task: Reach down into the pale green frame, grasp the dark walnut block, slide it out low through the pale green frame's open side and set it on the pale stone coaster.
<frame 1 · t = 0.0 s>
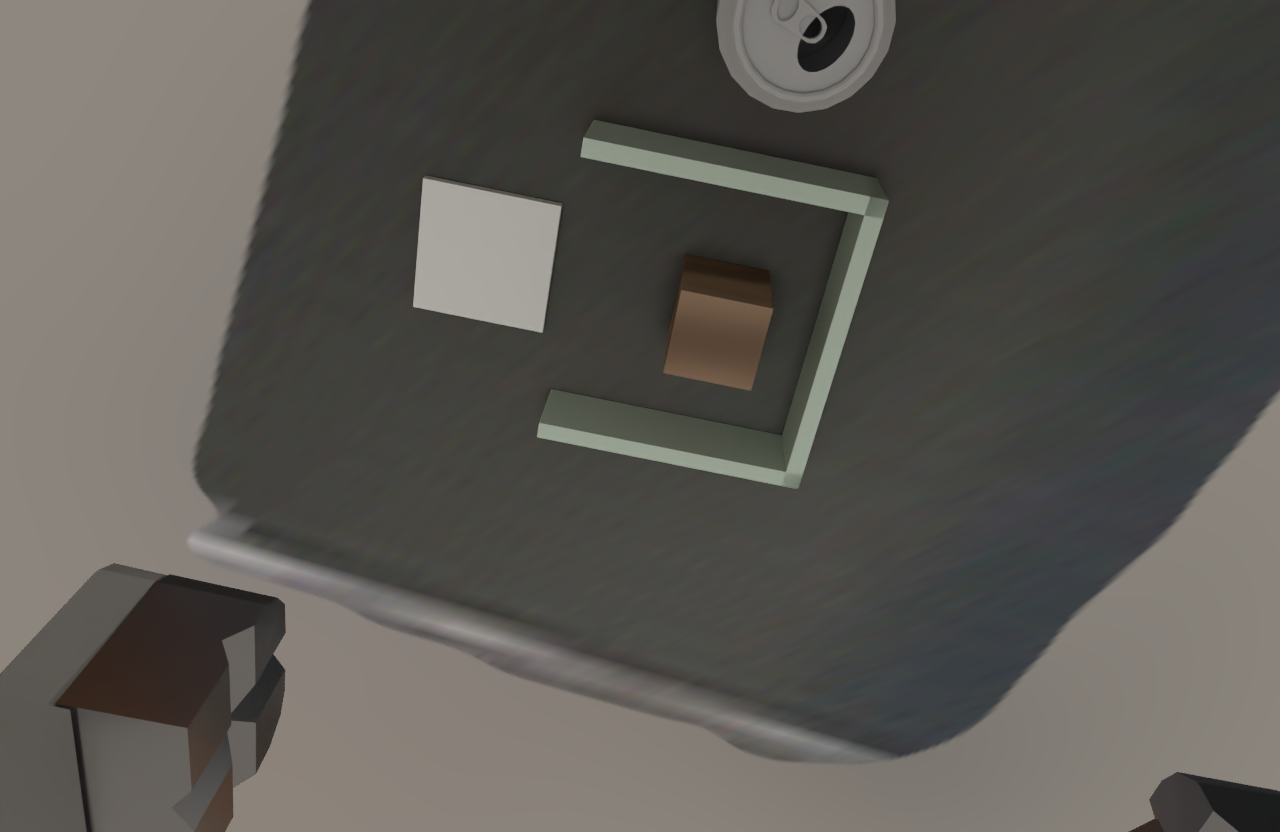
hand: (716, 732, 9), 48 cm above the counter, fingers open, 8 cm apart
block: (717, 301, 58), on the counter
pale green frame: (701, 298, 58), on the counter
coaster: (487, 254, 58), on the counter
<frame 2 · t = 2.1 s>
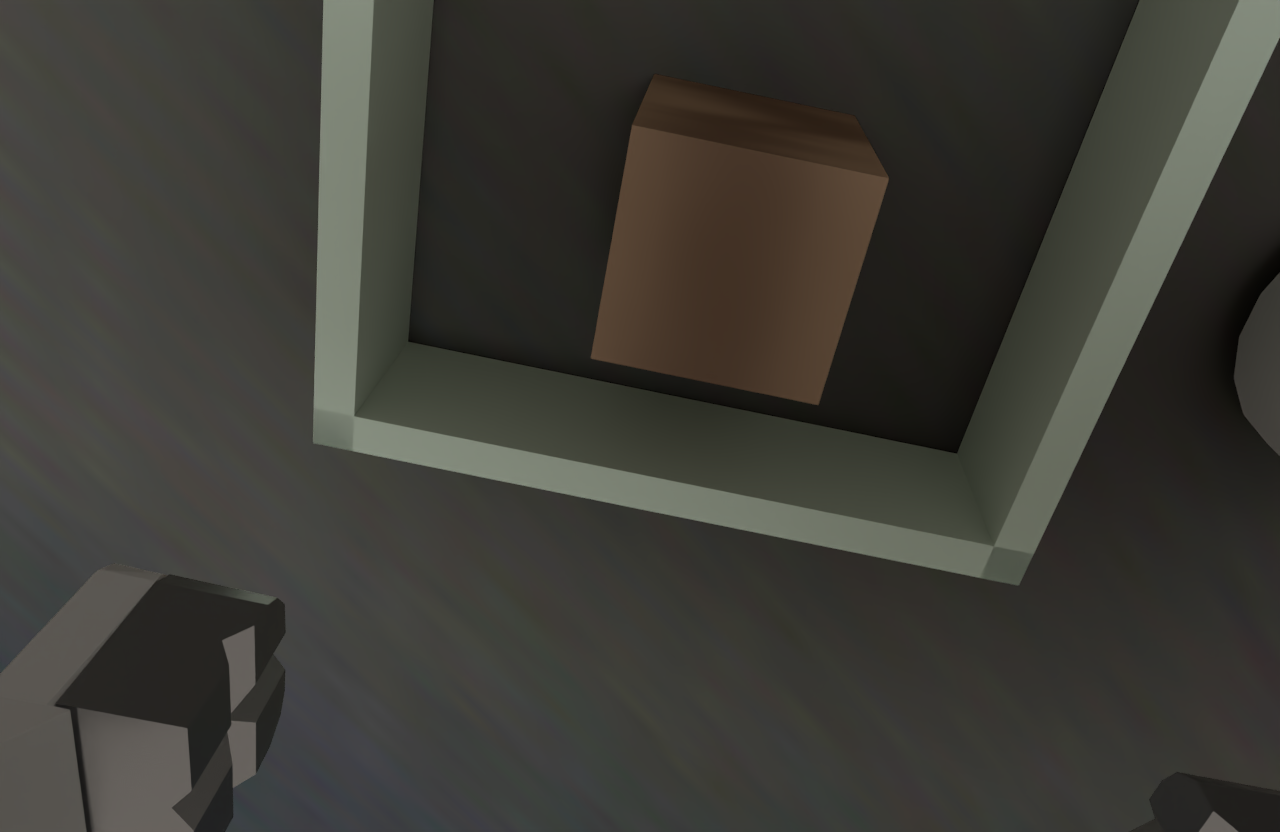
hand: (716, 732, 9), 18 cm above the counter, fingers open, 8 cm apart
block: (731, 193, 25), on the counter
pale green frame: (740, 155, 24), on the counter
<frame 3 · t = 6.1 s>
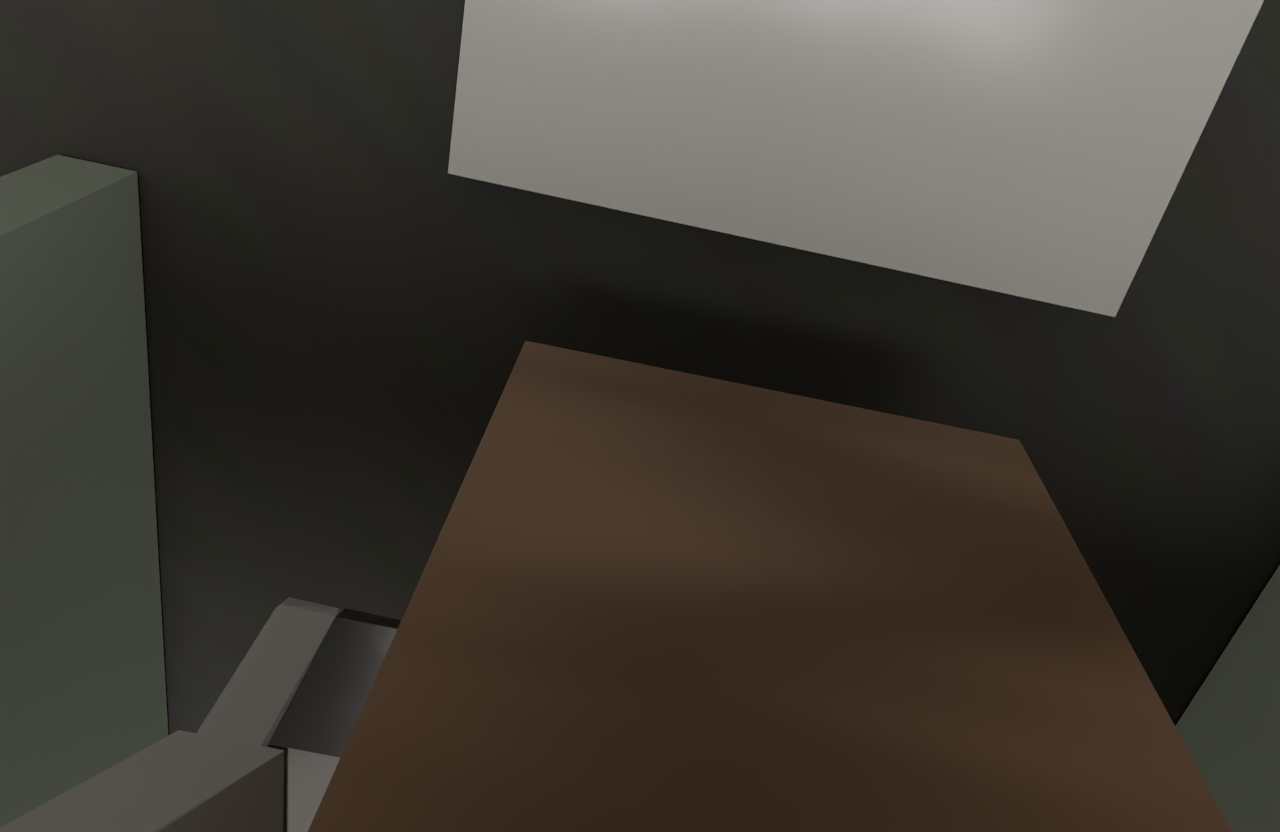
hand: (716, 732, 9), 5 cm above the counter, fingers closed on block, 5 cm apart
block: (718, 586, 11), point 3 cm above the counter, touching gripper
pale green frame: (639, 743, 16), on the counter
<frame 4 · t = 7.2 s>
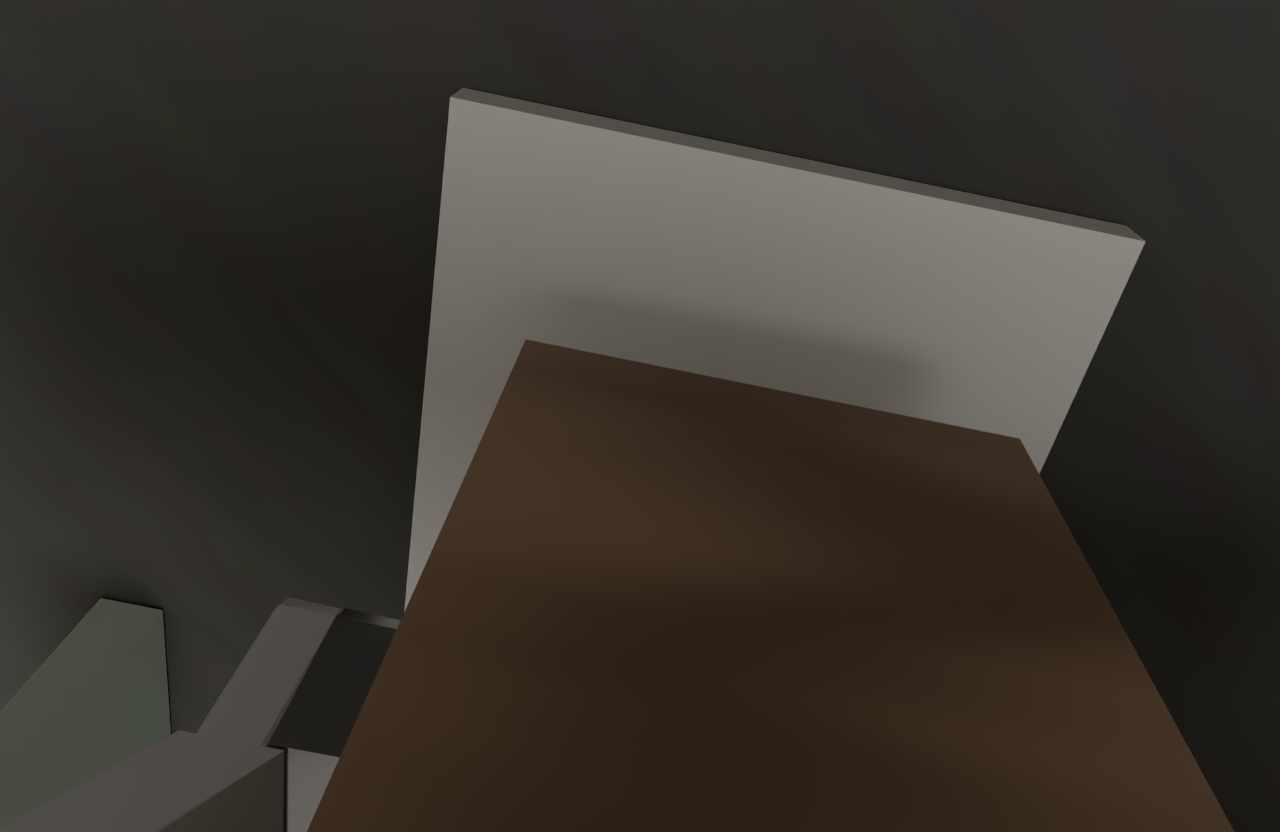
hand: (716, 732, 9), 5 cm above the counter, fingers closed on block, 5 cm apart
block: (718, 585, 11), point 3 cm above the counter, touching gripper
coaster: (721, 444, 13), on the counter
when the fingers open (3 cm above the counter, at t = 8.0 s): block stays where it is, resting on coaster.
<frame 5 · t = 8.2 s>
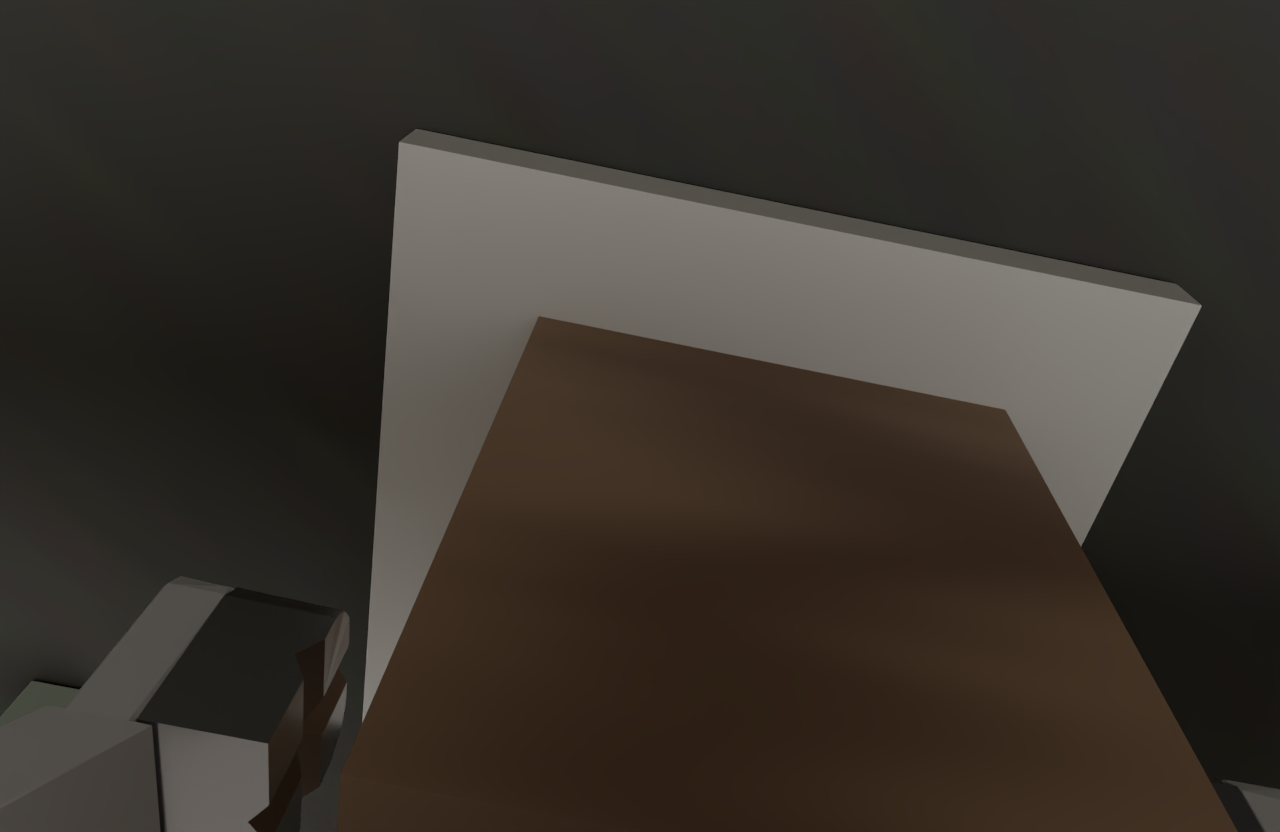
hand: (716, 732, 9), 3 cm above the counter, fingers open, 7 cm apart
block: (720, 552, 11), point 1 cm above the counter, touching coaster
coaster: (714, 521, 12), on the counter
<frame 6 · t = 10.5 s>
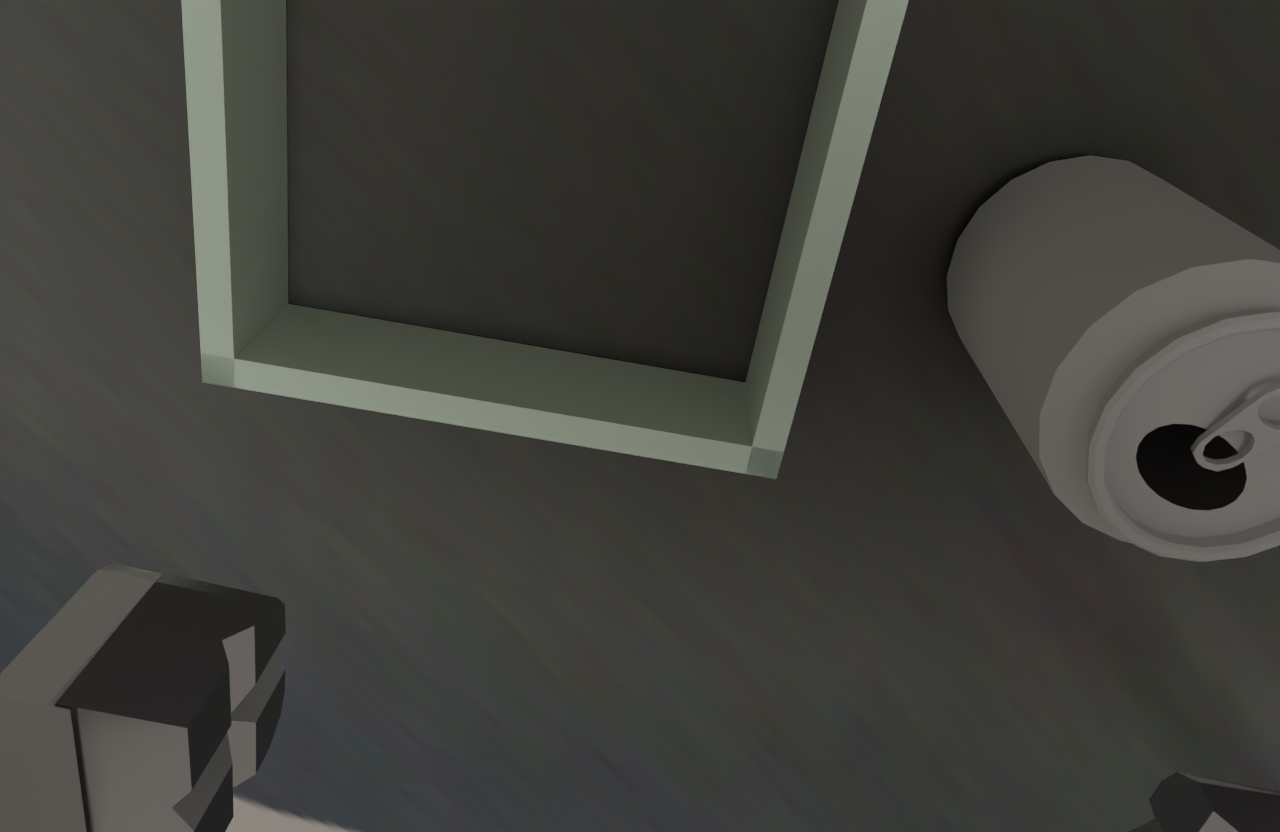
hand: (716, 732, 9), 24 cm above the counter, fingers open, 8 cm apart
pale green frame: (542, 141, 30), on the counter
can: (1055, 263, 32), on the counter
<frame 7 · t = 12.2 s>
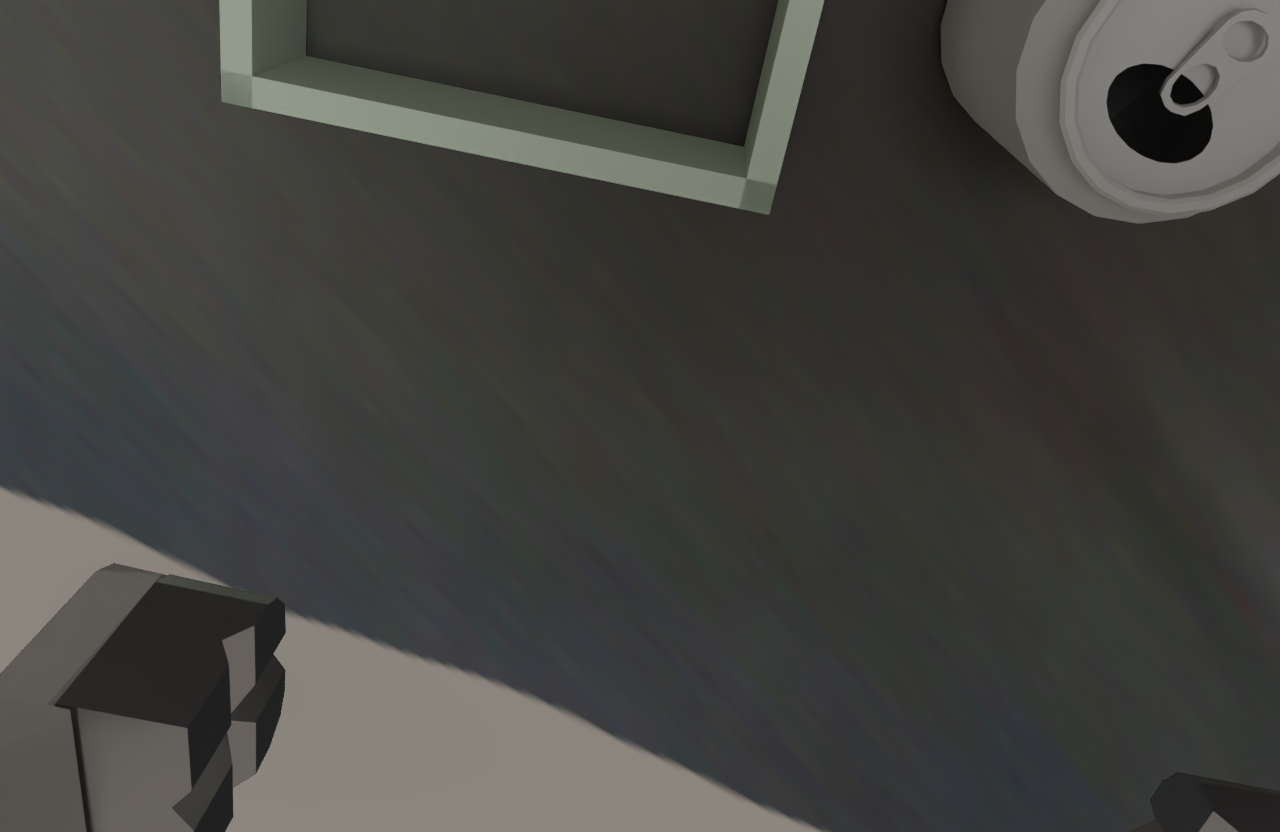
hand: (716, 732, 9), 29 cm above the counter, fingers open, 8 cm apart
can: (1048, 22, 33), on the counter
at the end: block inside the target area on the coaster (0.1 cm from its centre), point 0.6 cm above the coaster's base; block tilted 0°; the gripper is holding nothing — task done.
